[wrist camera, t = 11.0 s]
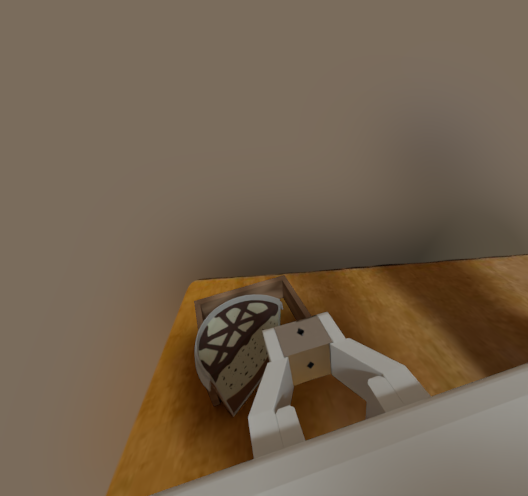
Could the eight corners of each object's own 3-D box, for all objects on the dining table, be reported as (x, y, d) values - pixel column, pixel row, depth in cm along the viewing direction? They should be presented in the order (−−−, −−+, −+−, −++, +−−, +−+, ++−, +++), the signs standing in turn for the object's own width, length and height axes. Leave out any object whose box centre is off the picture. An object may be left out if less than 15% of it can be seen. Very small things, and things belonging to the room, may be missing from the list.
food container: (252, 328, 39) (244, 279, 33) (285, 348, 36) (282, 296, 30) (189, 395, 31) (165, 345, 26) (224, 429, 28) (204, 379, 22)
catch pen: (285, 292, 45) (284, 275, 43) (327, 362, 33) (329, 343, 31) (200, 318, 41) (194, 301, 39) (213, 406, 30) (206, 388, 28)
